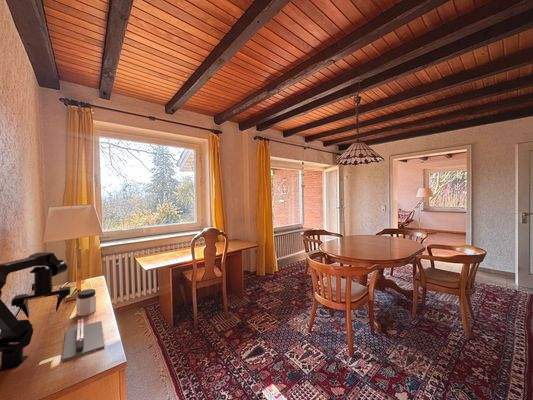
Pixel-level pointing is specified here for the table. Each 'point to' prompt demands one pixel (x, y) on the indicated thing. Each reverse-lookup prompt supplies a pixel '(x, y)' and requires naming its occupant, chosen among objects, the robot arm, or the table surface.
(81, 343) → the tongs fixed arm
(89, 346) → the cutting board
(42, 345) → the table surface
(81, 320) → the tongs moving arm
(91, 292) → the jar
